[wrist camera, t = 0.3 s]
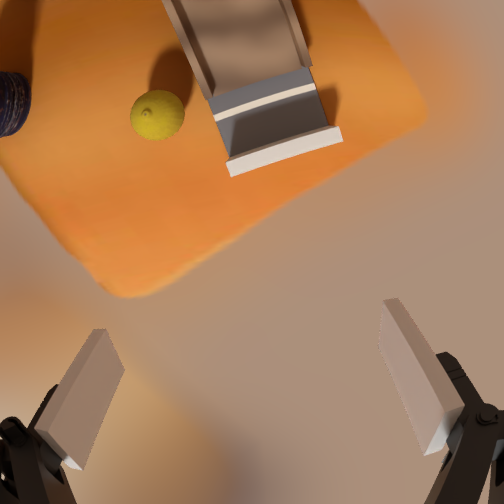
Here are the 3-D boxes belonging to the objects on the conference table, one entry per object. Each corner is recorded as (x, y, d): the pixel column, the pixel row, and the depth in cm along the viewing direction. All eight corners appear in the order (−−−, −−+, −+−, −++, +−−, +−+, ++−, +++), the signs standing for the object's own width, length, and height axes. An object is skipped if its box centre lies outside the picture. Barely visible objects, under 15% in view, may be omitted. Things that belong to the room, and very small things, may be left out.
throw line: (213, 115, 34) (213, 115, 34) (313, 83, 32) (314, 82, 32) (216, 121, 34) (215, 121, 34) (315, 89, 33) (316, 89, 32)
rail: (229, 157, 36) (225, 162, 31) (328, 125, 34) (338, 126, 30) (234, 169, 37) (231, 177, 32) (332, 138, 35) (343, 141, 30)
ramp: (169, -2, 28) (149, -28, 20) (261, -33, 26) (262, -65, 19) (210, 102, 33) (197, 96, 26) (307, 71, 32) (321, 57, 24)
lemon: (180, 85, 33) (160, 76, 25) (198, 126, 35) (182, 127, 27) (139, 105, 33) (111, 103, 26) (156, 146, 35) (132, 153, 28)
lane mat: (204, 91, 33) (204, 91, 33) (304, 59, 31) (304, 58, 31) (234, 169, 37) (234, 170, 36) (332, 138, 35) (332, 138, 35)
